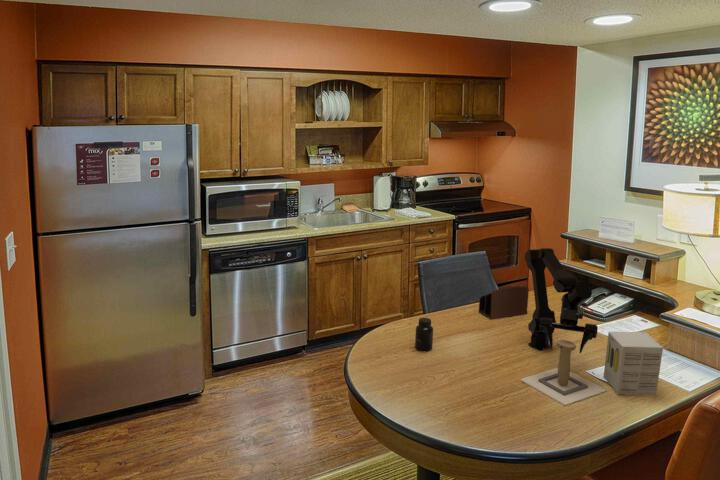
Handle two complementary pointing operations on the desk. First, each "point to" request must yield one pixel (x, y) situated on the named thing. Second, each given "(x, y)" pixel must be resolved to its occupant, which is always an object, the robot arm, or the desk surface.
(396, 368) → the desk surface
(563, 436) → the desk surface
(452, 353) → the desk surface
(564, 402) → the socket plate
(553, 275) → the robot arm
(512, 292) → the letter holder
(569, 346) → the handle
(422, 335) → the supplement bottle
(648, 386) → the supplement box
